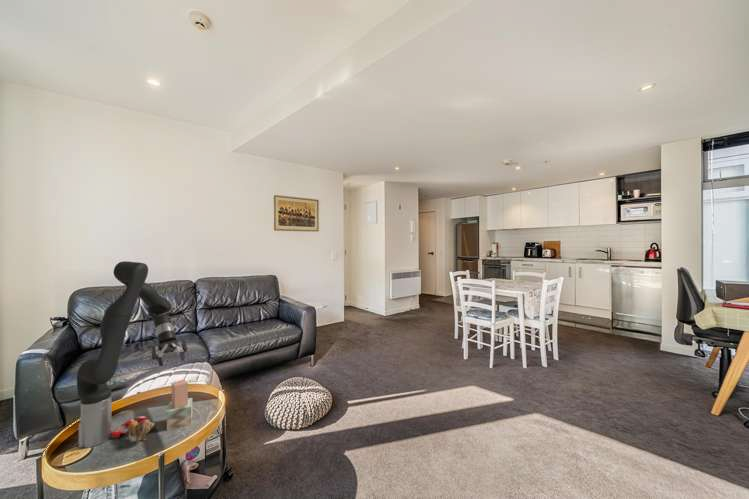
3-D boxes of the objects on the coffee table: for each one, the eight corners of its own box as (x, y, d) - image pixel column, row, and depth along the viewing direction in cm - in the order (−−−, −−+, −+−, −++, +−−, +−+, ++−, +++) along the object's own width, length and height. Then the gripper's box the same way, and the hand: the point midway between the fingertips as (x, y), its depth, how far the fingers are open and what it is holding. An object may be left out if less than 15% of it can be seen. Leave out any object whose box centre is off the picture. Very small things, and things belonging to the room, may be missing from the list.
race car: (115, 441, 121) (115, 432, 121) (107, 438, 123) (107, 428, 123) (150, 423, 133) (150, 415, 133) (143, 421, 136) (142, 412, 135)
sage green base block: (166, 430, 128) (166, 411, 128) (169, 419, 136) (169, 402, 136) (191, 424, 133) (191, 406, 133) (192, 414, 141) (192, 397, 141)
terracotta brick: (174, 408, 131) (174, 386, 131) (171, 404, 134) (171, 382, 134) (187, 404, 135) (187, 382, 135) (184, 400, 138) (184, 379, 138)
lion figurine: (156, 439, 123) (156, 417, 122) (142, 447, 117) (142, 425, 117) (131, 432, 127) (131, 411, 127) (117, 439, 122) (117, 418, 122)
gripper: (149, 333, 142) (156, 363, 135) (183, 327, 153) (191, 354, 145) (147, 341, 146) (153, 371, 138) (180, 335, 156) (187, 362, 149)
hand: (172, 362), depth 142 cm, fingers open, 8 cm apart
